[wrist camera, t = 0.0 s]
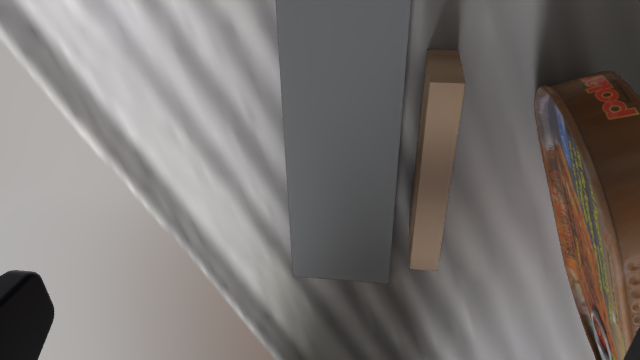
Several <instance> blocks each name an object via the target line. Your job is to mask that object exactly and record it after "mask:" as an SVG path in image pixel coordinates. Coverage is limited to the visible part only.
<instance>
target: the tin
mask: <svg viewBox="0 0 640 360" xmlns="http://www.w3.org/2000/svg"><path fill="white" fill-rule="evenodd" d="M534 107H535V118H536V124H537V131H538V137H539V142H540V147H541V152H542V157H543V162H544V167H545V172H546V176H547V181H548V186H549V191H550V196H551V201H552V206H553V211H554V216H555V221H556V226H557V231H558V236H559V241H560V245H561V250H562V255H563V260H564V264H565V268H566V272H567V275H568V279H569V283H570V286H571V290H572V293H573V297H574V300H575V303H576V306H577V309H578V312H579V315H580V318H581V321H582V324H583V326H584V329H585V332H586V335H587V338H588V340H589V343H590V345H591V348H592V350H593V352H594V355H595V358H596V360H624V357H625V355H626V353H627V351H628V349H629V347H630V345H631V343H632V340H633V338H634V336H635V334H636V332H637V330H638V329H639V327H640V97H639V96H638V95H637V94H636V93H635V91H634V90H633V89H632V88H631V87H630V86H629V85H628V84H627V83H626V82H625V81H624V80H623V79H622V78H621V77H620V76H618V75H617V74H616V73H615V72H613V71H603V72H599V73H594V74H590V75H587V76H583V77H580V78H576V79H573V80H570V81H567V82H563V83H560V84H557V85H554V86H547V85H545V86H541V87H539V88H538V89H537V91H536V95H535V101H534Z"/></svg>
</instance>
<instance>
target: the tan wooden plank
mask: <svg viewBox="0 0 640 360" xmlns="http://www.w3.org/2000/svg"><path fill="white" fill-rule="evenodd" d="M464 90H465V79H464V75H463V70H462V65H461V60H460V56H459V51H458V50H433V49H427V56H426V66H425V75H424V85H423V95H422V105H421V115H420V125H419V135H418V144H417V154H416V164H415V174H414V184H413V194H412V204H411V213H410V223H409V240H410V269H418V270H431V271H437V270H438V264H439V257H440V250H441V244H442V237H443V230H444V224H445V217H446V210H447V203H448V197H449V190H450V183H451V177H452V170H453V163H454V157H455V150H456V143H457V137H458V130H459V123H460V117H461V110H462V103H463V96H464Z"/></svg>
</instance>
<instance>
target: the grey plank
mask: <svg viewBox="0 0 640 360" xmlns="http://www.w3.org/2000/svg"><path fill="white" fill-rule="evenodd" d="M410 6H411V0H276V13H277V29H278V45H279V61H280V77H281V93H282V108H283V124H284V140H285V156H286V172H287V187H288V203H289V219H290V235H291V251H292V267H293V276H296V277H309V278H322V279H334V280H347V281H360V282H373V283H386V284H389V271H390V259H391V246H392V233H393V221H394V208H395V195H396V183H397V170H398V157H399V145H400V132H401V120H402V107H403V94H404V82H405V69H406V56H407V44H408V31H409V18H410Z"/></svg>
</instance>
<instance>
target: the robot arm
mask: <svg viewBox="0 0 640 360" xmlns="http://www.w3.org/2000/svg"><path fill="white" fill-rule="evenodd" d="M53 319H54V307H53V304H52V301H51V299H50V296H49V294H48V292H47V290H46V287H45V285H44V283H43V280H42V278H41V277H40V275H39V274H37V273H36V272H30V271H19V270H14V271H9V272H6V273H5V274H3V275H1V276H0V360H38V357H39V355H40V352H41V350H42V348H43V345H44V343H45V340H46V338H47V335H48V333H49V330H50V327H51V325H52V322H53ZM624 360H640V327H639V329H638V330H637V332H636V334H635V336H634V338H633V340H632V343H631V345H630V347H629V349H628V351H627V353H626V355H625V357H624Z"/></svg>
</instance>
